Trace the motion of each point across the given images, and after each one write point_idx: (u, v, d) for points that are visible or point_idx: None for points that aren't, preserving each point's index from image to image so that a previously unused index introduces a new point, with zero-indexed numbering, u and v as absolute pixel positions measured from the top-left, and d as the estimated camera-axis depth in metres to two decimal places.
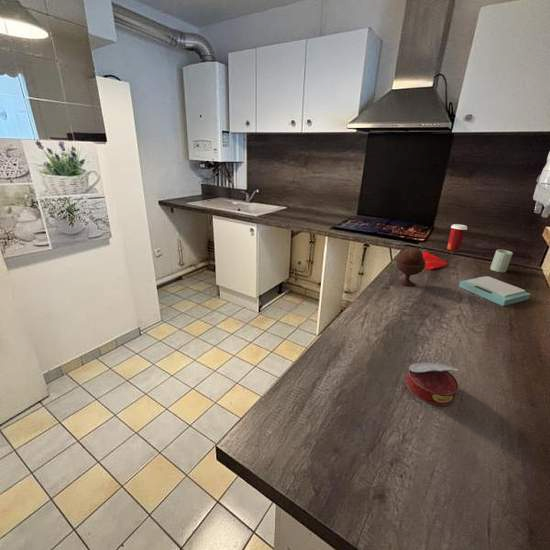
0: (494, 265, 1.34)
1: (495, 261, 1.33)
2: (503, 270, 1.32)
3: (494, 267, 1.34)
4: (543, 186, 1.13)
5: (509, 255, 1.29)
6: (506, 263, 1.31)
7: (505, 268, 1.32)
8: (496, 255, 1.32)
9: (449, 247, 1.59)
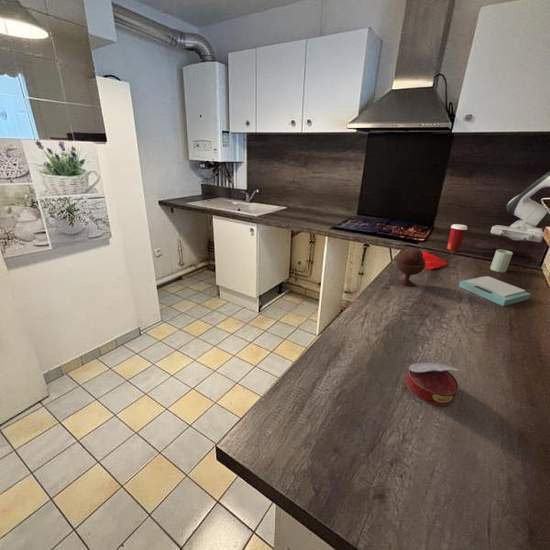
0: (494, 265, 1.34)
1: (495, 261, 1.33)
2: (503, 270, 1.32)
3: (494, 267, 1.34)
4: None
5: (509, 255, 1.29)
6: (506, 263, 1.31)
7: (505, 268, 1.32)
8: (496, 255, 1.32)
9: (449, 247, 1.59)
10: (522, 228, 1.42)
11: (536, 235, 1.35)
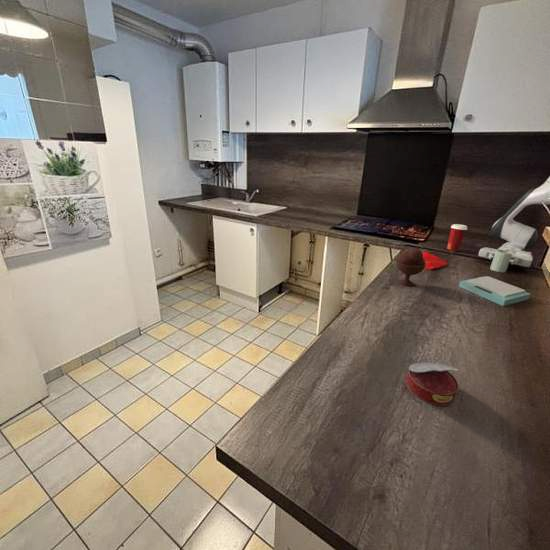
0: (494, 265, 1.34)
1: (495, 261, 1.33)
2: (503, 270, 1.32)
3: (494, 267, 1.34)
4: None
5: (509, 255, 1.29)
6: (505, 263, 1.31)
7: (505, 268, 1.32)
8: (496, 255, 1.32)
9: (449, 247, 1.59)
10: (511, 251, 1.38)
11: (524, 260, 1.30)
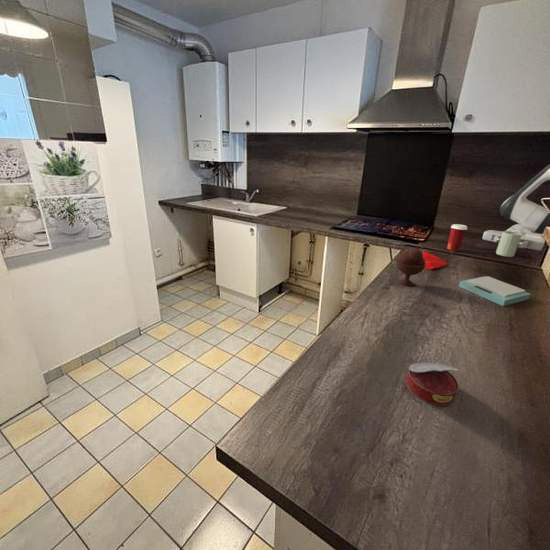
0: (500, 248, 1.17)
1: (502, 244, 1.16)
2: (511, 254, 1.15)
3: (500, 251, 1.17)
4: None
5: (518, 236, 1.13)
6: (514, 245, 1.14)
7: (513, 252, 1.15)
8: (503, 237, 1.16)
9: (449, 247, 1.59)
10: None
11: (536, 242, 1.14)
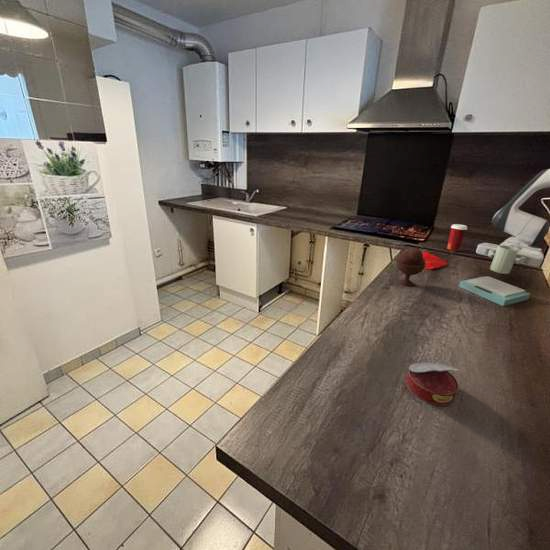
0: (495, 264, 1.07)
1: (496, 260, 1.06)
2: (506, 271, 1.06)
3: (495, 267, 1.07)
4: None
5: (514, 252, 1.03)
6: (510, 262, 1.04)
7: (509, 268, 1.05)
8: (498, 252, 1.06)
9: (449, 247, 1.59)
10: None
11: (533, 258, 1.04)
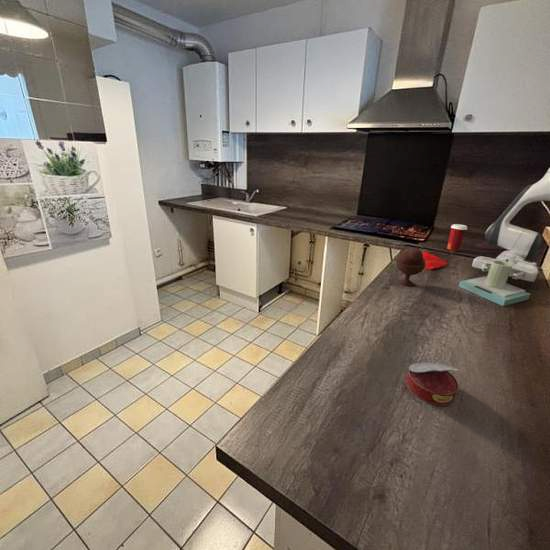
0: (490, 279, 1.10)
1: (491, 275, 1.09)
2: (501, 286, 1.08)
3: (490, 282, 1.09)
4: None
5: (508, 268, 1.05)
6: (504, 277, 1.06)
7: (503, 283, 1.08)
8: (492, 267, 1.08)
9: (449, 247, 1.59)
10: (511, 262, 1.13)
11: (528, 273, 1.06)
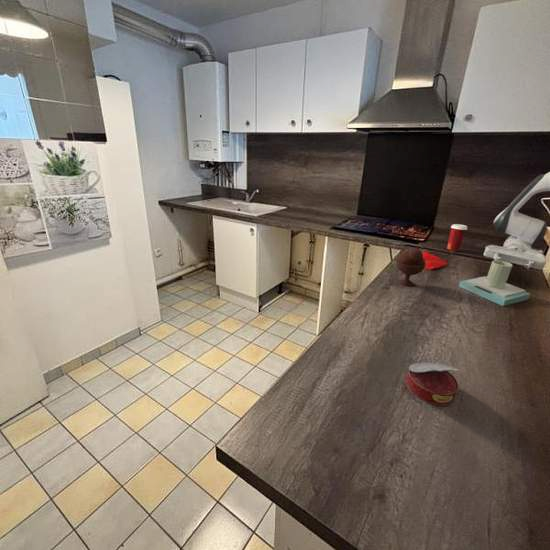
0: (490, 279, 1.10)
1: (491, 275, 1.09)
2: (501, 286, 1.08)
3: (490, 282, 1.09)
4: None
5: (508, 268, 1.05)
6: (504, 277, 1.06)
7: (503, 283, 1.08)
8: (492, 267, 1.08)
9: (449, 247, 1.59)
10: (520, 250, 1.21)
11: (538, 262, 1.14)
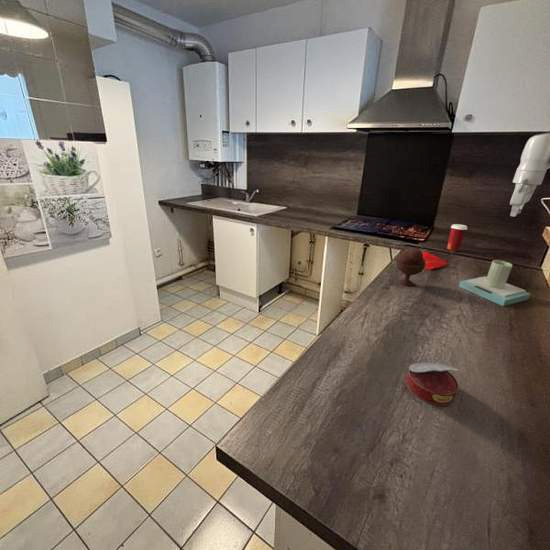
0: (490, 279, 1.10)
1: (491, 275, 1.09)
2: (501, 286, 1.08)
3: (490, 282, 1.09)
4: (515, 186, 1.14)
5: (508, 268, 1.05)
6: (504, 277, 1.06)
7: (503, 283, 1.08)
8: (492, 267, 1.08)
9: (449, 247, 1.59)
10: None
11: None
